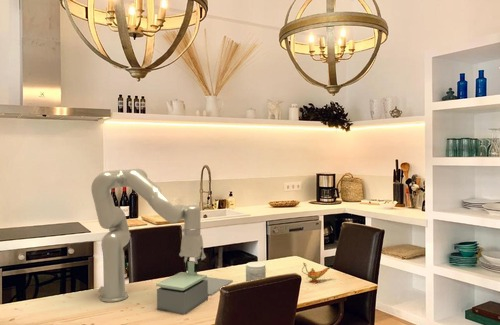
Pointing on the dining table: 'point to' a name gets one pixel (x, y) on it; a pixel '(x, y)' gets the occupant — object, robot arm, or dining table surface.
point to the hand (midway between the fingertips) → (192, 270)
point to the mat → (216, 284)
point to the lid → (182, 279)
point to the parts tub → (182, 298)
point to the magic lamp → (315, 274)
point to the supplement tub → (255, 271)
